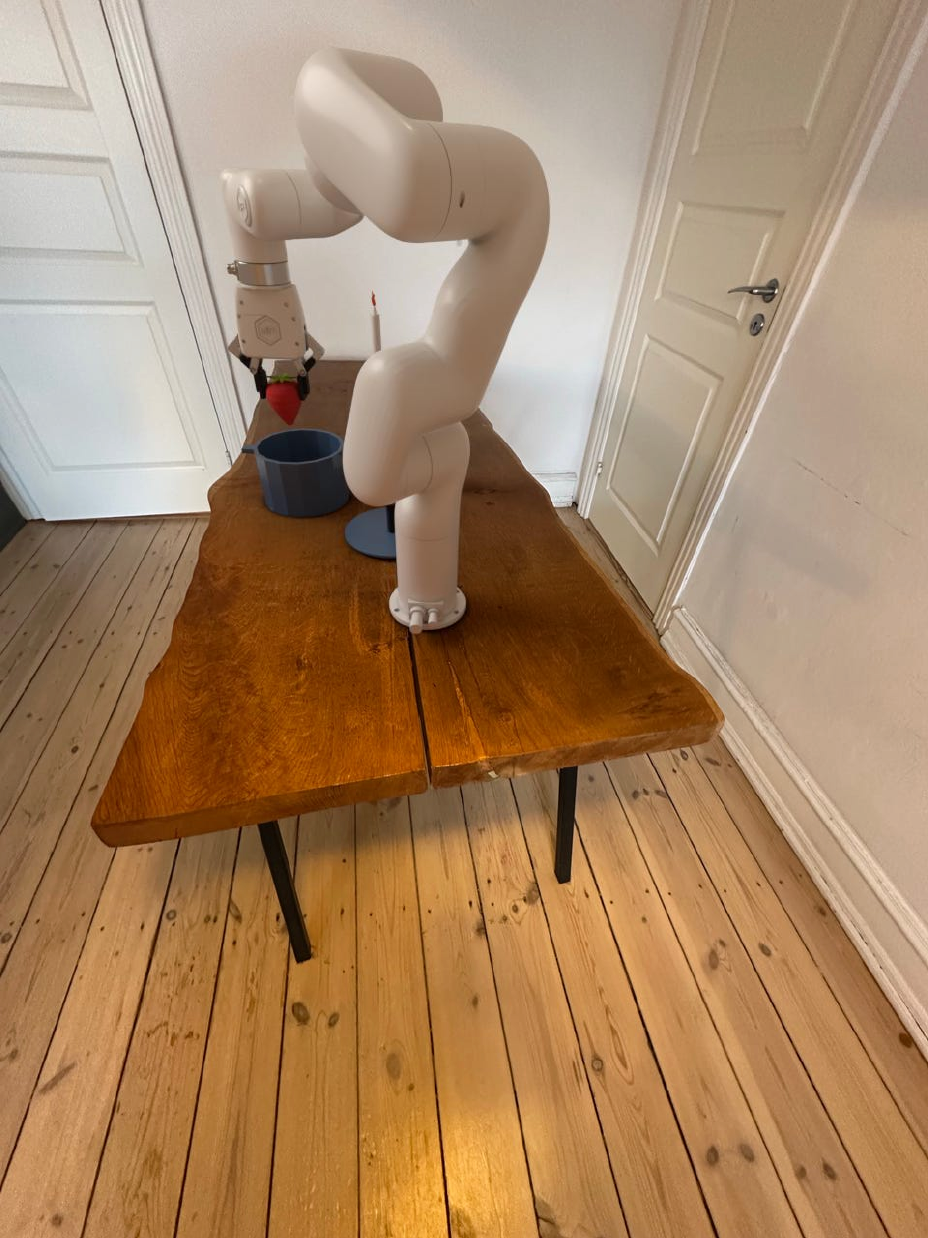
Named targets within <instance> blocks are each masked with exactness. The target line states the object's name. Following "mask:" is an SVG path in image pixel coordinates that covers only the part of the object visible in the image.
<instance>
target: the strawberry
mask: <svg viewBox="0 0 928 1238" xmlns="http://www.w3.org/2000/svg"><path fill="white" fill-rule="evenodd" d="M274 366H275V367H276V368H277V369H279V367H278V365H276V364H274ZM280 371H281V375H280V376H279V375H267V376H265V377H267V379H268V378H269V379H271V380H272V381H270V382H268V386H267V387H266V398H265V399H266V400H267V402H268V405H269V406H270V408H271V409H272V410H273V411H274V413H275V414H276V415H277V416H278V417H279V418H280V419H281V420H282V421H283V422H284V423H285V424H286V425H287V426H293V425H294V423H295V420H296V418H297V416H298V414H299V413H300V409H301V407H302V403H303V401H301V400H300V398H299V391H298V385H297V380H296V381H295V380H294V379H297V376H291V375H288V374H289V372H286V373H283V370H282V369H280Z"/></svg>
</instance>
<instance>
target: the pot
mask: <svg viewBox="0 0 928 1238" xmlns="http://www.w3.org/2000/svg"><path fill="white" fill-rule="evenodd" d="M343 448H344V440H343V438H342V437H341V435H337V434H336V433H334V432H332V431H327V430H323V429H318V428H293V429H285V430H280V431H277V432H273V433H270V434H268V435H266V436H264V437H262V438H260V439H258V440H257V442H255V444H253V443H252V444H249V443H245V444H244V445H243V446H242V447H241V453H242V454H248V455H249V454H250V455H254V458H255V463H256V467H257V472H258V477H259V481H260V485H261V489H262V494H263V498H264V503H265V505H266V507H267V508H268V509H269V510H270V511H271V512H273V513H276V514H278V515H281V516H285V517H289V518H313V517H319V516H324V515H328V514H330V513H333V512H335V511H337V510H339V509H341V508H342V507H344V506H345V505H346V504H347V502H348V501H349V499H350V493H351V490H350V488H349V486H348V484H347V481H346V478H345V475H344V469H343Z"/></svg>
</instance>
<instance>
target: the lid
mask: <svg viewBox="0 0 928 1238" xmlns="http://www.w3.org/2000/svg"><path fill="white" fill-rule="evenodd" d="M395 505H396V502H395V503H392V504H389V505H385V506H382V507H377V508H373V509H369V510H366V511H364V512H361V513H359V514H358V515H356V516H354V517H353V518H352V519H350V521H348V523H347V524H346V526H345V531H344V536H345V540H346V543H348V545H349V546H350V547H351V548H353V549H354V550H355V551H357V552H359V553H361V554H363V555H367V556H370V557H373V558H380V559H397V556H396V536H395Z"/></svg>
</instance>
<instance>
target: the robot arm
mask: <svg viewBox="0 0 928 1238" xmlns="http://www.w3.org/2000/svg"><path fill="white" fill-rule="evenodd" d="M293 110H294V112H293V113H294V121H295V127H296V129H297V133H298V136H299V140H300V142H301V144H302V155H303V161H304V165H305V169H301V168H299V169H296V168H255V167H254V168H252V167H228V168H225V169H223V170H222V171H221V173H220V175H219V176H220V177H219V183H220V189H221V194H222V195H221V196H222V200H223V205H224V210H225V215H226V221H227V225H228V230H229V236H230V241H231V247H232V251H233V252H232V253H233V257H234V260H233V262H231V263H227V264H226V270H227V273H228V274H229V275H233V276H234V277H236V280H237V282H238V283H236V284H234V285H233V287H234V288H233V296H234V297H233V298H234V313H235V319H236V321H235V323H236V329H237V333H236V335H235V336H234V338H233V339H232V340H231V342H230V343H229V344H228V346H227V350H228V351H229V352H230V354H232V355H233V356H234V357H235V358H236V359H238V360H239V361H240V363H241V364H242V365H244V366H245V367H246V368H247V369H248V370H249V372H250V374H252V375H253V380H254V384H255V390H256V392H257V393H259V398H260V400H265V399H267V398H266V387H267V386H268V384H269V380H268V378H267V377H265V376H268V374H267V371H266V370H265V368H263V362H264V359H265V360H286V361H287V360H289V361H292V363H293V364H294V366H295V368H296V370H297V376H296V377H297V378H296V382H297V385H298V391H299V398H300V400H301V401H302V402H305V401H306V399H307V397H308V396H309V395H310V394H311V386H310V378H309V372H310V371H311V370H312V369H313V367H315V365H316V364H317V363H318V361H319V360H320V359H321V358H323V356H324V354H325V353H326V350H325V348H324V347H323V346H322V345H321V344H320V343H319V342H318V341H317V339H315V338H314V336H312V335H311V334H310V332H308V328H307V322H306V317H305V313H304V309H303V305H302V301H301V297H300V295H299V291H298V288H297V285H296V284H294V283H292V278H291V271H290V263H289V257H288V249H287V243H286V242H287V241H291V240H308V239H327V238H331V237H335V236H338V235H339V234H342V233H343V232H345V231H348V230H349V229H351V228H353V227H354V226H357V224H360V223H361V222H362V221H363V220H364V218H365V217H366V218H367V219H368V220H369V221H370V222H371V223H372V224H373V225H374V226H376V228H378V229H379V230H380V231H381V232H383V233H384V234H386V235H387V236H389V237H391V238H392V239H395V240H397V241H400V242H403V243H409V244H427V243H442V242H456V241H465V240H467V246H466V247H465V249H464V251H463V252H462V254H461V256H459V259H457V261H456V262H455V263H454V265H453V266H452V267H451V269H450V271H448V273H447V274H446V276H445V278H444V279H443V282H442V283H441V286H440V288H439V290H438V292H437V294H436V297H435V301H434V305H433V310H432V313H431V316H430V318H429V322H428V324H427V327H426V329H425V331H424V334H423V335H422V336H421V337H419V338H418V339H416V340H414V341H412V342H409V343H408V342H407V343H403V344H398V345H394V346H389V347H386V348H383V349H381V350H380V351H378V352H376V353H375V354H373V353H372V355H370V356H369V357H368V358H367V359H366V360H365V361H364V363H363V365H362V366H361V367H360V369H359V371H358V373H357V376H356V379H355V382H354V386H353V392H352V397H351V403H350V408H349V413H348V419H347V423H346V424H347V425H346V431H345V435H344V440H343V442H344V448H343V469H344V475H345V478H346V481H347V484H348V486H349V489H350V492H351V493H352V494H353V496H354V497H355V498H356V499H357V500H358V501H359V502H361V503H363V504H365V505H367V506H371V507H386V505H389V504H392V503H395V502H396V505H395V536H396V556H397V558H396V572H397V573H396V574H397V575H396V576H397V587H396V588H395V589H394V591H393V592H391V595H390V597H389V601H388V605H389V611H390V614H391V615H392V617H393V618H394V619H395V620H396V621H397V622H398V623H400V624H402V625H404V626H406V627H408V630H409V632H410V633H411V634H413V635H419V634H421V632H422V631H432V630H440V629H443V628H447V627H449V626H451V625H453V624H455V623H456V622H458V621H459V620H460V619H461V618H462V617H463V615H464V614H465V611H466V609H467V607H466V605H467V599H466V596H465V594H464V593H463V591H462V590H461V589H460V588H459V587H458V577H459V576H458V575H459V574H458V573H459V572H458V571H459V546H460V541H459V540H460V523H461V505H462V503H461V502H462V495H463V489H464V483H465V480H466V476H467V472H468V468H469V462H470V455H471V446H470V445H471V444H470V439H469V435H468V432H467V430H466V427H465V425H464V424H463V423H462V421H464V420H466V419H468V418H470V417H471V416H473V415H474V414H475V413H476V411H477V410H478V409H479V407H480V406H481V404H482V401H483V400H484V397H485V395H486V392H487V391H488V387H489V386H490V383H491V379H492V377H493V375H494V373H495V370H496V368H497V366H498V363H499V361H500V358H501V357H502V353H503V351H504V348H505V346H506V343H507V340H508V337H509V334H510V332H511V330H512V327H513V325H514V323H515V321H516V318H517V316H518V314H519V311H520V310H521V308H522V305H523V303H524V301H525V299H526V298H527V296H528V294H529V291H530V289H531V287H532V286H533V285H532V284H533V283H534V281H535V280H536V279H535V278H536V276H537V274H538V271H539V269H540V266H541V264H542V261H543V258H544V256H545V255H544V254H545V251H546V247H547V244H548V238H549V234H550V224H551V205H550V204H551V203H550V202H551V201H550V191H549V187H548V182H547V178H546V175H545V171H544V168H543V166H542V164H541V161H540V160H539V157H538V156H537V154H536V153H535V152H534V150H533V149H532V148H531V147H530V146H529V144H528V143H526V142H525V141H524V140H523V139H521V138H520V137H519V136H517V135H515V134H513V133H512V132H509V131H506V130H503V129H502V128H497V127H493V126H489V125H482V124H473V123H457V122H445V121H444V110H443V106H442V101H441V96H440V95H439V92H438V89H437V88H436V86H435V84H434V83H433V81H432V80H431V78H430V77H429V76H428V74H426V72H424V70H422V69H421V68H420V67H419V66H417V65H416V64H414V63H413V62H411V61H408V60H406V59H402V58H399V57H395V56H391V55H384V54H379V53H374V52H367V51H361V50H356V49H351V48H345V47H337V46H329V47H324V48H321V49H319V50H318V51H316V52H314V53H312V55H310V56H309V57H308V59H307V60H306V61H305V62H304V63H303V66H301V69H300V72H299V73H298V76H297V81H296V84H295V87H294V95H293ZM309 349H310V350H311V351H312V354H311V355H310V356H309V358H308V359H306V357H305V355H306V353H307V352H308V351H309Z"/></svg>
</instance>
